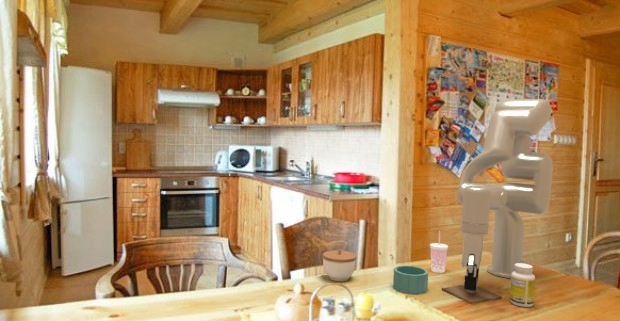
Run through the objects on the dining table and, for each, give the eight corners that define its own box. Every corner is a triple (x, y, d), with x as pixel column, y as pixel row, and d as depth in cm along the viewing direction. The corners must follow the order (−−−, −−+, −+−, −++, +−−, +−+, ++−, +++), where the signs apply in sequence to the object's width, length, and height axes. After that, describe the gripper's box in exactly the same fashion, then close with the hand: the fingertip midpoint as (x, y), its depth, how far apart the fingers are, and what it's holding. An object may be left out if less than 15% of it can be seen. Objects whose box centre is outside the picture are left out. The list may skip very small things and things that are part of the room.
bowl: (412, 281, 143) (413, 264, 143) (433, 291, 134) (434, 273, 134) (386, 284, 139) (387, 267, 138) (407, 295, 130) (408, 277, 130)
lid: (470, 287, 141) (471, 269, 141) (501, 300, 130) (503, 281, 130) (441, 291, 136) (442, 273, 135) (471, 306, 125) (472, 286, 125)
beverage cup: (449, 273, 152) (451, 233, 152) (430, 272, 153) (432, 232, 152) (444, 268, 158) (446, 229, 158) (427, 267, 159) (429, 228, 158)
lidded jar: (331, 271, 151) (332, 243, 151) (360, 277, 146) (361, 248, 145) (316, 279, 142) (317, 250, 141) (346, 286, 136) (347, 255, 136)
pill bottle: (528, 300, 129) (530, 262, 129) (537, 308, 123) (539, 269, 122) (506, 298, 130) (508, 261, 129) (514, 306, 124) (516, 267, 123)
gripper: (463, 222, 141) (460, 275, 142) (458, 231, 125) (454, 291, 126) (489, 224, 138) (486, 279, 139) (486, 234, 122) (483, 296, 123)
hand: (471, 285), depth 132 cm, fingers open, 9 cm apart
